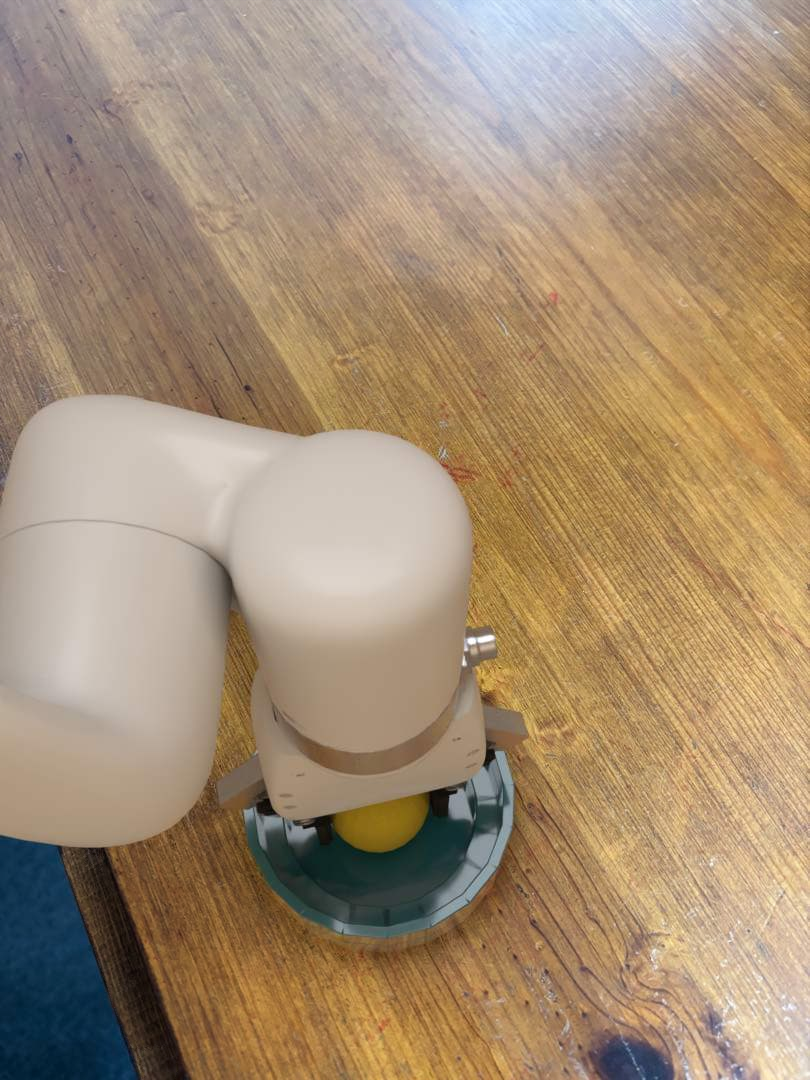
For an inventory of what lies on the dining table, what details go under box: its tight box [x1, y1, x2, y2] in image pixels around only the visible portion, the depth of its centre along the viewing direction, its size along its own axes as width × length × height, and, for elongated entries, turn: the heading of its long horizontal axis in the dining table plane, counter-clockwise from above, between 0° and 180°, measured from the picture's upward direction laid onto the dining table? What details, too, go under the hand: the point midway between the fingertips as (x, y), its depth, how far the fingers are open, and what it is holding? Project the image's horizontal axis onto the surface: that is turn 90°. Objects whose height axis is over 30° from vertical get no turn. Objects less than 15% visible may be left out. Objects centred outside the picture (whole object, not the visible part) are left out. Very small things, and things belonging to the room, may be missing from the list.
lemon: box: [328, 791, 430, 853], centre depth 56 cm, size 6×6×8 cm
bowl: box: [241, 746, 516, 953], centre depth 58 cm, size 14×14×5 cm
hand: (378, 802), depth 57 cm, fingers closed on lemon, 5 cm apart
